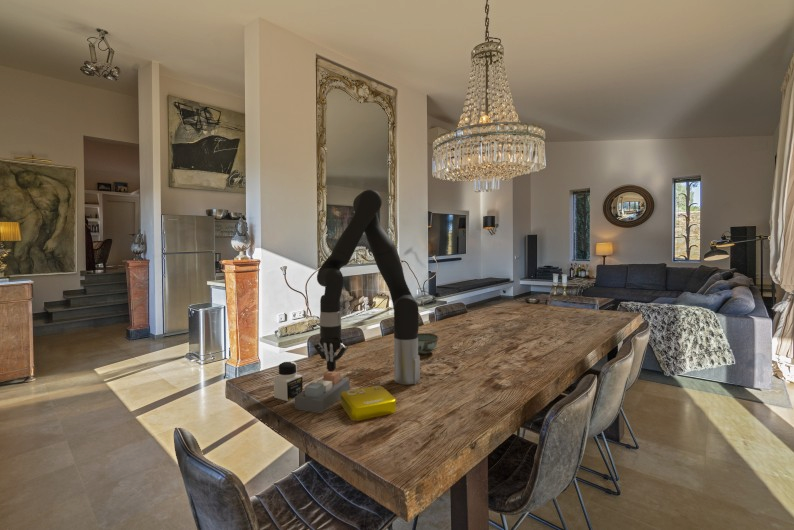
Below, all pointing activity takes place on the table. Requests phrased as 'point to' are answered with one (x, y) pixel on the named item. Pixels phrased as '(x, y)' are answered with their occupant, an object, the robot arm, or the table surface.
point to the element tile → (368, 402)
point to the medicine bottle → (287, 382)
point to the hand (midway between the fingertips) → (331, 370)
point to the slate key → (314, 390)
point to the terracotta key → (332, 377)
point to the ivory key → (326, 384)
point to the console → (322, 398)
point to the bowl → (426, 343)
